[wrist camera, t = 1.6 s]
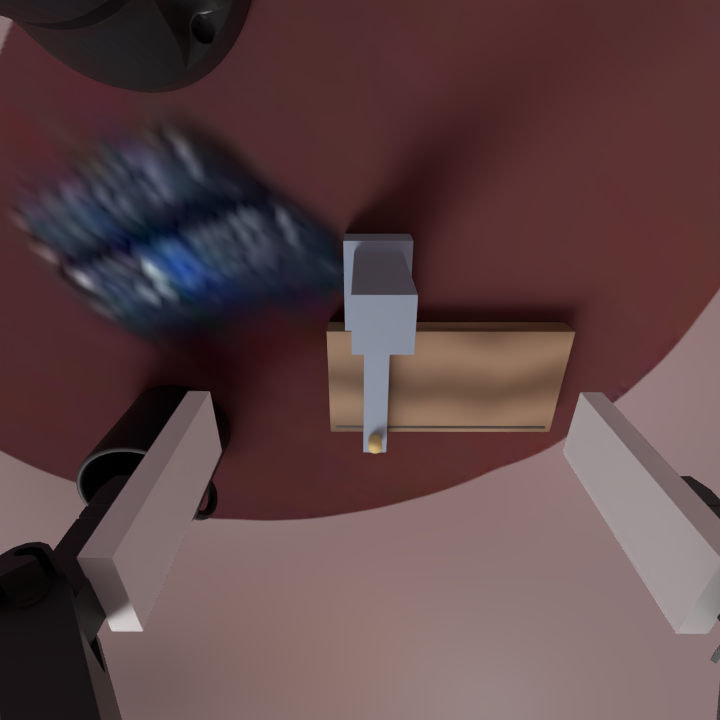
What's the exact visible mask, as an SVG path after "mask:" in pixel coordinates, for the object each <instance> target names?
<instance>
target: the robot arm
mask: <svg viewBox="0 0 720 720" xmlns="http://www.w3.org/2000/svg"><path fill="white" fill-rule="evenodd" d="M249 4H250V0H0V15H1V16H4V17H7V18H10V19H12V20H13V21H14V22H15V23H17V24H18V25H19V26H20V27H21V28H23V29H24V30H25V31H26V32H27V33H28V34H29V35H30V36H31V37H32V38H33V39H34V40H35V41H36V42H37V43H38V44H40V45H41V46H42V47H43V48H44V49H45V50H46V51H48V52H49V53H50V54H51V55H52V56H54V57H55V58H57V59H58V60H59V61H61V62H62V63H64V64H65V65H67V66H68V67H70V68H72V69H73V70H75V71H77V72H79V73H81V74H83V75H85V76H87V77H89V78H91V79H93V80H96V81H98V82H101V83H104V84H107V85H110V86H114V87H119V88H123V89H128V90H133V91H138V92H149V93H158V92H168V91H173V90H177V89H180V88H183V87H186V86H188V85H191V84H193V83H195V82H197V81H198V80H200V79H202V78H203V77H204V76H206V75H207V74H209V73H210V72H211V71H212V70H213V69H214V68H215V67H216V66H217V65H218V64H219V63H220V62H221V61H222V60H223V59H224V57H225V56H226V55H227V54H228V52H229V51H230V49H231V48H232V46H233V44H234V43H235V41H236V39H237V37H238V35H239V33H240V31H241V29H242V26H243V24H244V21H245V18H246V15H247V12H248V8H249ZM221 453H222V449H221V444H220V439H219V434H218V429H217V424H216V419H215V414H214V409H213V404H212V399H211V394H210V391H188V392H187V394H186V395H185V397H184V398H183V400H182V401H181V403H180V404H179V406H178V407H177V409H176V410H175V412H174V413H173V415H172V416H171V418H170V419H169V421H168V422H167V424H166V425H165V427H164V428H163V430H162V431H161V433H160V434H159V436H158V437H157V439H156V440H155V442H154V443H153V445H152V446H151V448H150V449H149V451H148V452H147V453H146V455H145V456H144V458H143V459H142V461H141V462H140V464H139V465H138V467H137V468H136V470H135V471H134V473H133V474H132V475H116V476H114V477H113V478H112V479H111V480H109V481H108V482H107V483H106V484H104V485H103V486H102V487H100V488H99V490H98V491H97V492H96V494H95V495H94V496H93V498H92V499H91V500H90V502H89V503H88V506H86V507H85V509H84V510H83V511H82V513H81V514H80V515H79V519H77V520H76V521H75V522H74V523H73V525H72V526H71V527H70V529H69V530H68V532H67V533H66V534H65V536H64V537H63V538H62V540H61V541H60V542H59V544H58V545H57V546H56V548H55V549H54V550H52V548H51V547H50V546H49V545H48V544H45V543H42V542H33V543H26V544H23V545H20V546H17V547H14V548H12V549H10V550H8V551H7V552H5V553H3V554H1V555H0V720H122V718H121V715H120V711H119V708H118V704H117V700H116V697H115V693H114V689H113V686H112V682H111V679H110V675H109V672H108V668H107V664H106V661H105V657H104V654H103V650H102V646H101V643H100V640H99V638H98V636H97V633H98V631H99V629H100V627H101V625H102V623H103V621H104V620H105V618H106V619H107V622H108V624H109V625H110V628H111V629H112V631H143V630H144V628H145V626H146V624H147V621H148V619H149V617H150V614H151V612H152V610H153V608H154V605H155V603H156V601H157V599H158V596H159V594H160V592H161V589H162V587H163V585H164V583H165V580H166V578H167V576H168V573H169V571H170V569H171V567H172V564H173V562H174V560H175V557H176V555H177V553H178V551H179V548H180V546H181V544H182V541H183V539H184V537H185V535H186V532H187V530H188V528H189V525H190V523H191V521H192V519H193V516H194V514H195V512H196V510H197V507H198V505H199V503H200V501H201V498H202V496H203V494H204V491H205V489H206V487H207V485H208V482H209V480H210V478H211V475H212V473H213V471H214V469H215V466H216V464H217V462H218V459H219V457H220V455H221ZM563 454H564V456H565V457H566V459H567V461H568V462H569V464H570V465H571V467H572V469H573V470H574V472H575V473H576V475H577V477H578V478H579V480H580V481H581V483H582V484H583V486H584V488H585V489H586V491H587V492H588V494H589V496H590V497H591V499H592V500H593V502H594V503H595V505H596V507H597V508H598V510H599V511H600V513H601V515H602V516H603V518H604V519H605V521H606V523H607V524H608V526H609V527H610V529H611V531H612V532H613V534H614V535H615V537H616V539H617V540H618V542H619V543H620V545H621V547H622V548H623V550H624V551H625V553H626V554H627V556H628V558H629V559H630V561H631V562H632V564H633V565H634V567H635V569H636V570H637V572H638V574H639V575H640V577H641V578H642V580H643V581H644V583H645V585H646V586H647V588H648V589H649V591H650V592H651V594H652V595H653V597H654V599H655V601H656V602H657V604H658V605H659V607H660V608H661V610H662V612H663V613H664V615H665V616H666V618H667V620H668V621H669V623H670V624H671V626H672V627H673V629H674V631H675V632H676V634H708V632H709V631H710V629H711V628H712V626H713V625H714V624H715V622H716V621H717V619H719V621H720V499H719V498H718V497H717V496H716V495H715V494H714V493H713V492H712V491H711V490H710V489H709V488H707V487H706V486H704V485H703V484H701V483H700V482H698V481H697V480H695V479H694V478H692V477H690V476H679V475H678V474H677V473H676V471H674V469H673V468H672V467H671V466H670V465H669V464H668V463H667V462H666V461H665V460H664V459H663V457H662V456H661V455H660V454H659V453H658V452H657V451H656V450H655V449H654V448H653V447H652V446H651V445H650V443H649V442H648V441H647V440H646V439H645V438H644V437H643V436H642V435H641V434H640V433H639V432H638V430H637V429H636V428H635V427H634V426H633V425H632V424H631V423H630V422H629V421H628V420H627V419H626V418H625V417H624V415H623V414H622V413H621V412H620V411H619V410H618V409H617V408H616V407H615V406H614V405H613V404H612V402H611V401H610V400H609V399H608V398H607V397H606V396H605V395H604V394H603V393H602V392H581V393H580V396H579V399H578V403H577V406H576V409H575V413H574V416H573V419H572V423H571V426H570V430H569V433H568V436H567V440H566V443H565V446H564V450H563ZM719 659H720V646H719V647H718V648H717V650H716V651H715V652H714V654H713V656H712V658H711V661H713V662H714V663H717V661H718V660H719ZM717 720H720V688H719V699H718V710H717Z"/></svg>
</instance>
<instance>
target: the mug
mask: <svg viewBox="0 0 720 720" xmlns="http://www.w3.org/2000/svg"><path fill="white" fill-rule="evenodd" d="M188 391H195V390H193V389H189V388H186V387H180V386H163V387H158V388H155V389H152V390H149V391H147V392H145V393H144V394H142V395H141V396H140V397H139V398H138V399H137V400H136V401H135V402H134V403H133V404H132V405H131V407H130V408H129V409H128V410H127V411H126V412H125V414H124V415H123V416H122V417H121V418H120V419H119V421H118V422H117V423H116V424H115V425H114V426H113V428H112V429H111V430H110V431H109V432H108V433H107V434H106V436H105V437H104V438H103V439H102V440H101V441H100V443H99V444H98V445H97V446H96V447H95V448H94V450H93V451H92V452H91V453H90V454H89V455H88V457H87V458H86V459H85V460H84V461H83V463H82V464H81V466H80V468H79V470H78V473H77V480H76V484H77V490H78V493H79V495H80V497H81V499H82V501H83V502H84V504H85V505H86V506H88V503H89V502H90V500H91V499H92V498H93V496H94V495H95V494H96V492H97V491H98V490H99V488H100V487H102V486H103V485H104V484H106V483H107V482H108V481H109V480H111V479H112V478H113V477H114V476H116V475H132V474H133V473H134V471H135V470H136V468H137V467H138V465H139V464H140V462H141V461H142V459H143V458H144V456H145V455H146V453H147V452H148V451H149V449H150V448H151V446H152V445H153V443H154V442H155V440H156V439H157V437H158V436H159V434H160V433H161V431H162V430H163V428H164V427H165V425H166V424H167V422H168V421H169V419H170V418H171V416H172V415H173V413H174V412H175V410H176V409H177V407H178V406H179V404H180V403H181V401H182V400H183V398H184V397H185V395H186V394H187V392H188ZM212 404H213V409H214V414H215V419H216V424H217V429H218V434H219V439H220V444H221V449H222V453H221V455H220V457H219V459H218V462H217V464H216V466H215V469H214V471H213V473H212V475H211V478H210V480H209V482H208V485H207V487H206V489H205V491H204V494H203V496H202V498H201V501H200V503H199V505H198V507H197V510H196V512H195V514H194V516H193V519H195V520H205V519H208V518H210V517H211V516H212V515H213V513H214V512H215V510H216V506H217V491H216V488H215V485H214V483H213V482H212V479H213V477H214V475H215V472H216V470H217V468H218V466H219V463H220V461H221V459H222V457H223V454H224V452H225V450H226V447H227V445H228V442H229V436H230V432H229V426H228V422H227V419H226V417H225V415H224V413H223V412H222V410H221V409H220V408H219V406H218V405H217V404H216V403H215V402H213V401H212ZM206 493H208V504H207V507H206V508H205V510H203V511H200V510H199V509H200V507H201V504H202V502H203V500H204V498H205V495H206ZM193 519H192V520H193ZM191 522H192V521H191Z"/></svg>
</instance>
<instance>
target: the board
mask: <svg viewBox="0 0 720 720" xmlns="http://www.w3.org/2000/svg"><path fill="white" fill-rule="evenodd" d="M574 335H575V331H574V330H573V329H572V328H571V327H569V326H568V325H567V324H566V323H565V322H416V333H415V348H414V355H390V357H389V384H388V412H387V431H409V432H549V431H550V427H551V423H552V419H553V415H554V411H555V408H556V404H557V400H558V396H559V392H560V389H561V385H562V381H563V377H564V373H565V369H566V366H567V362H568V358H569V354H570V350H571V347H572V343H573V339H574ZM327 349H328V373H329V397H330V422H331V431H364V355H352V337H351V331H345V322H328V328H327Z"/></svg>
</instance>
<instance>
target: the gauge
mask: <svg viewBox="0 0 720 720" xmlns="http://www.w3.org/2000/svg"><path fill="white" fill-rule="evenodd" d="M343 243H344V297H345V331H351V337H352V355H364V452H372V453H379V452H386V439H387V412H388V384H389V357H390V355H414V348H415V333H416V318H417V303H418V293H417V291H416V288H415V285H414V282H413V279H412V277H411V275H412V258H413V239H412V237H411V235H410V234H345V235H344V241H343Z"/></svg>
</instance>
